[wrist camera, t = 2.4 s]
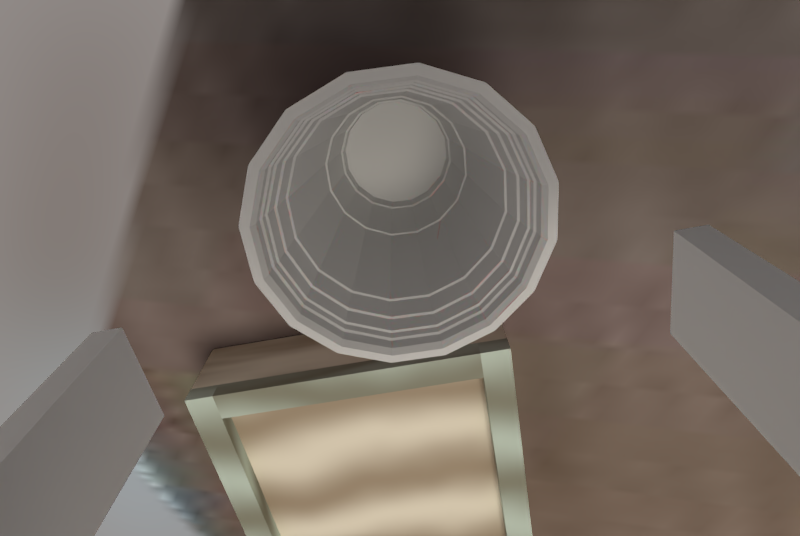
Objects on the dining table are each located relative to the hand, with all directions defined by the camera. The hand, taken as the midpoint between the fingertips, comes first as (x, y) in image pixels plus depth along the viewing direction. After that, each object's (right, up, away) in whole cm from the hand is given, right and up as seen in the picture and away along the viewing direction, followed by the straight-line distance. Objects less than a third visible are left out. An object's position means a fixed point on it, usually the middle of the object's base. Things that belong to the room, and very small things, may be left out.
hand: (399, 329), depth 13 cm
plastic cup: (0, +8, +16) cm, 18 cm away
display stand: (-1, -10, +24) cm, 26 cm away
